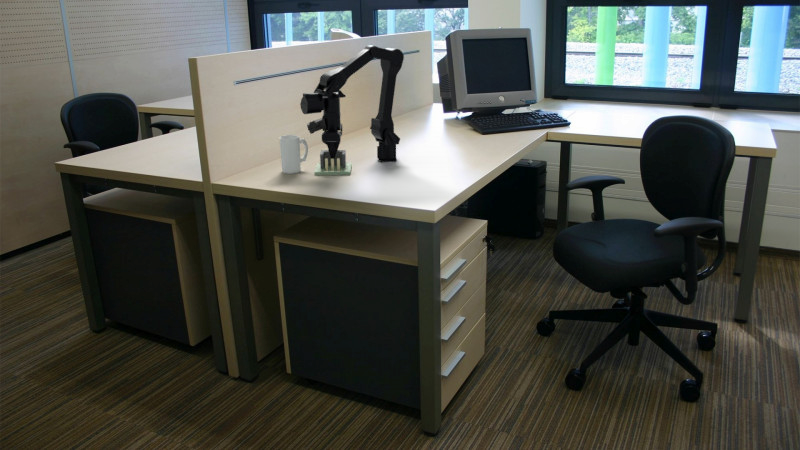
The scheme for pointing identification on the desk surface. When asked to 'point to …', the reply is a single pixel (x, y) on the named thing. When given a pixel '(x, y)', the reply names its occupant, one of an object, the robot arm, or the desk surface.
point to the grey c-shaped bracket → (339, 155)
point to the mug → (292, 153)
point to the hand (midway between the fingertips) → (333, 156)
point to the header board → (333, 168)
